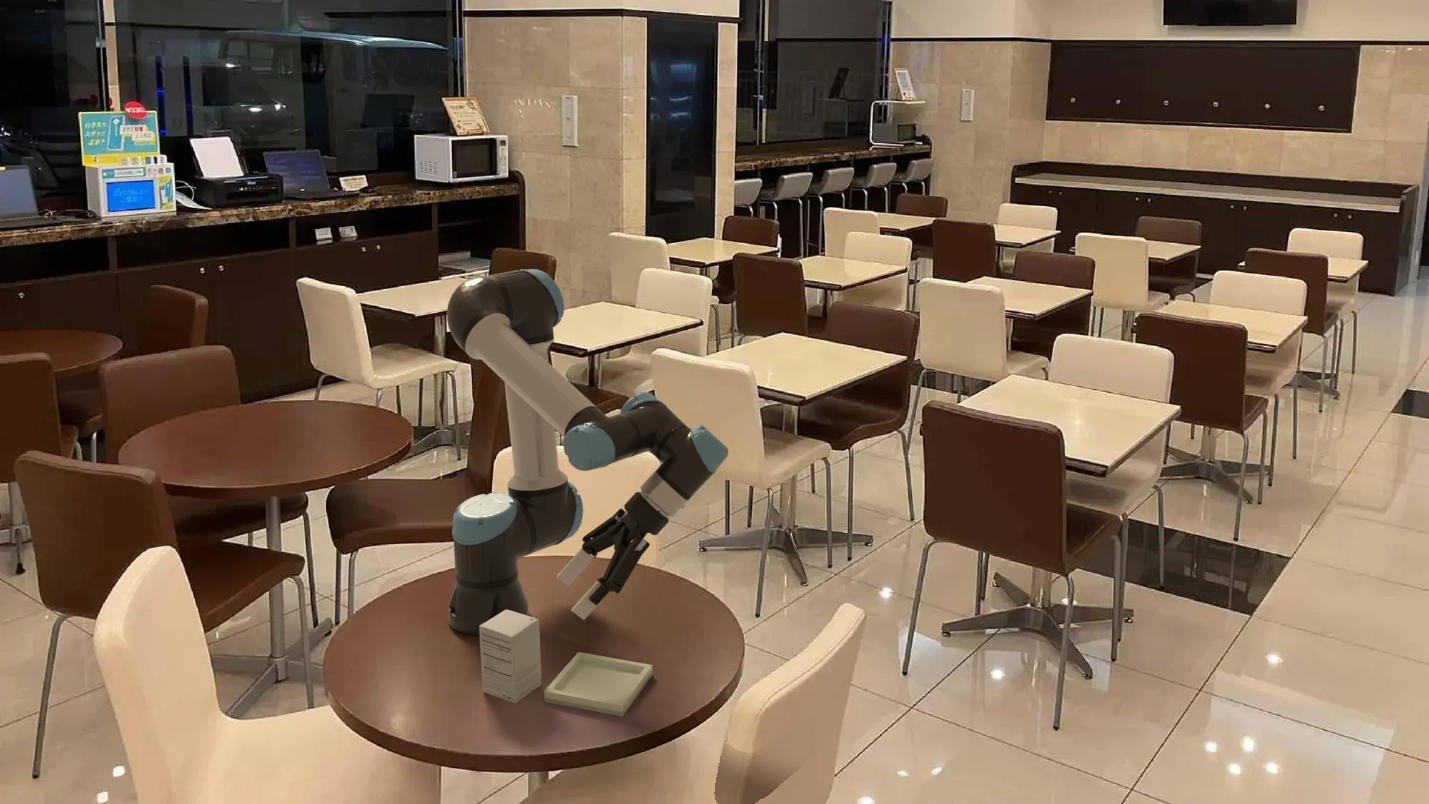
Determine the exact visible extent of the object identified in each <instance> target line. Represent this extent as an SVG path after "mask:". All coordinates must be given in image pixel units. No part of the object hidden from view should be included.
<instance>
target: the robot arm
mask: <svg viewBox="0 0 1429 804" xmlns="http://www.w3.org/2000/svg"><path fill="white" fill-rule="evenodd" d="M564 303H565V302H564V297H563V294H562V292H561V289H560V288H559V286H558V284H557V282H556V281H555V280H553V279H552V276H550V275H549V274H548V273H547V272H546V271H545V272H544V271H542V270H540V269H537V268H536V269H535V268H531V269H522V268H521V269H516V270H511V271H504V272H500V273H495V274H489V275H485V276H475V277H472V278H469V279H467V280H465V281H464V282H462V283H461V284H460V285H459V286H457V287H456V288H455V290H454V292H452V294H451V296H450V299H449V301H448V304H447V308H446V322H447V325H448V329H449V331H450V334H451V336H452V337H453V339H454V341H455V342H456V344H457V345H458V347H459V348H461V349H462V350H463V351H464V352H465V353H466V355H468V356H469V357H470V358H472V359H474V360H481V361H482V362H484V363H485V364H486V365H487V366H488V368H490V370H492V371H493V372H494V373H495V374H496V375H497V376H498V377H499V378H501V380H502V381H503V382H504V388H505V399H506V408H507V418H508V425H509V435H510V444H511V454H512V463H513V472H514V474H513V476H511V477H510V479H509V480H508V481H507V490H508V494H505V493H502V492H501V493H500V492H490V493H488V494H485V493H482V494H478V495H475V496H472V497H469V498H468V499H465V500H464V501H462V502H461V503H460V504H459V505H458V506H457V508H456V509H455V511H454V514H453V516H452V519H453V521H452V529H451V531H452V532H451V534H452V537H453V553H454V555H453V556H454V569H455V570H454V572H455V584H454V586H453V590H452V594H451V597H450V601H449V604H448V607H447V620H448V624H449V626H450V627H451V628H452V629H454V630H456V631H457V632H459V633H462V634H466V635H470V636H480V631H479V626H480V625H482V624H483V623H485V622H487V621H488V620H490V619H491V618H493V617H495V616H496V615H498V614H500V613H501V612H503V611H504V610H510V611H513V612H517V613H520V614H524V615H527V616H530V614H529V613H530V612H529V602H528V599H527V597H526V595H525V592H524V588H523V586H522V583H521V582H520V578H519V565H518V564H519V559H521V558H524V557H526V556H528V555H531V554H534V553H537V552H539V551H541V550H544V549H547V548H549V547H552V546H556V545H560V544H562V543H563V542H564V541H566V540H567V539H568V540H569V539H570V538H572V537H573V536H574V535H575V534H576V533H577V532H578V531H579V529H580V527H581V525H582V522H583V518H584V503H583V500H582V497H581V495H580V494H578V489H577V487H576V486H575V485H574V484H573V483H571V482H570V481H568V479H569V478H568V475H567V474H565V472H563V471H562V470H560V467H559V456H558V447H557V437H556V432H558V434H559V435H560V436H562V437H563V451H564V455H566V456H567V459H568V463H569V464H570V465H571V466H572V467H574V468H575V469H577V470H579V471H583V472H587V471H593V470H597V469H603V468H605V467H608V466H609V465H612V464H615V463H617V462H620V461H623V460H626V459H629V458H632V457H635V456H638V455H641V454H644V453H647V452H650V454H652V455H653V456H654V457H655V458H656V459H657V460H658V461H659V462H661V464H660V465H659V466H658V468H657V469H656V470H655V471H654V472H652V474H650V476H649V477H648V478H647V479H646V480H645V481H644V482H643V483H642V485H641V486H640V490H641V491H636V492H634V494H633V495H632V496H631V497H630V498H629V499H628V500H627V502H626V503H624V505H623V508H619V509H618V510H617V511H616V512H615V513H614V514H613V515H612V516H610V517H609V518H607V520H605V521H603V522H602V523H601V524H600V525H598V526H596V527H595V528H594V529H592V530H591V531H590V532H587V534H585V535H584V536H583V537H582V540H581V541H582V542H583V543H582V544H581V545H582V546H581V548H580V549H579V551H578V552H576V553H575V555H574V556H573V557H572V558H570V560H569V561H568V562H567V564H566V565H565V566H564V567H563V568H562V569H561V570H560V571H559V572H558V573H557V575H556V577H557V579H558V580H559V581H561V582H562V583H563V584H565V585H566V586H567V587H569V586H570V585H571V584H572V583H573V582H574V581H575V580H576V579H577V577H579V575H580V574H581V573H582V572H583V571H584V570H585V569H586V568H587V566H588V565H589V564H590V563H591V562H592V561H593V560H594V558H597V557H598V553H601V552H602V551H605V550H607V549H608V548H610V547H613V549H614V553H613V554H612V556H611V558H610V561H609V563H608V565H607V567H606V569H605V572H604V574H603V576H602V577H599V578H597V580H596V581H595V582H594V583H593V584H592V586H591V587H590V588H589V589H588V590H587V591H586V593H584V594H583V596H582V597H580V599H579V600H578V601H577V602H576V603H575V605H573V606H572V608H571V612H573V613H574V614H575V615H576V616H577V617H579V618H581V620H583V621H585V620H586V619H587V618H588V617H589V615H590V614H591V613H592V612H593V611H594V610H595V608H597V607H598V605H600V604H601V602H602V601H604V599H605V598H606V597H607V596H608V595H609V593H610V592H614V593H616V594H620V593H621V591H622V589H623V588H624V586H625V585H626V583H627V581H628V579H629V578H630V576H631V574H632V572H633V571H634V569H635V567H636V565H637V564H638V562H639V561H640V559H641V557H642V556H643V555H644V554H645V552H646V551H647V549H648V548H649V547H650V545H651V544H650V543H649V542H648V541H647V540H646V539H645V538H646V536H647V534H651V535H653V536H657V535H658V534H659V533H660V532H661V531H662V530H663V529H664V528H665V527H666V526H667V525H668V524H669V523H670V522H669V520H670V519H669V517H671V518H674V517H675V515H676V514H678V512H679V511H680V510H681V509H684V508H685V507H686V503H687V502H688V501H689V500H690V499H691V498H692V497H693V496H694V495H695V494H696V492H697V491H698V490H700V488H702V486H704V484H706V482H707V481H708V480H709V479H710V478H711V477H712V476H713V475H714V474H716V472H717V470H718V469H719V468H720V467H721V465H722V464H723V463H724V462H725V460H726V459H727V457H728V455H729V448H728V447H727V446H726V445H725V444H724V443H723V442H722V441H721V440H720V439H719V438H718V437H716V436H715V435H714V434H713V433H712V431H710V430H709V429H708V428H706V426H704V425H703V424H697V425H696V426H695V427H693V428H690V427H688V426H687V425H686V423H684V421H682V420H681V419H680V418H679V417H678V416H677V415H676V414H675V413H673V411H671V409H670V408H668V405H666V404H665V403H664V402H663V401H661V400H659V399H658V398H657V397H656V396H655V395H653V394H652V393H651V392H646V391H643V392H639V393H636V394H635V395H634V396H633V397H630V398H629V399H627V401H626V402H625V403H624V404H623V406H622V408H621V410H620V412H619V413H618V414H615V415H610V416H607V415H606V414H605V413H604V412H603V411H602V410H601V409H600V408H598V407H597V406H596V405H595V404H594V403H592V401H590V399H588V397H586V396H585V394H583V393H582V392H581V391H579V389H578V388H576V386H574V385H573V384H572V383H571V382H570V381H569V380H568V379H567V378H566V377H565V376H564V375H563V374H561V373H560V372H559V371H558V370H557V369H556V368H555V367H553V365H551V364H550V362H549V356H548V348H549V347H550V345H552V343H553V342H554V341H555V334H554V328H555V327H557V326H558V325H559V323H560V322H561V321H562V318H563V316H564V314H565V304H564Z"/></svg>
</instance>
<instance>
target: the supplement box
mask: <svg viewBox="0 0 1429 804" xmlns="http://www.w3.org/2000/svg"><path fill="white" fill-rule="evenodd" d="M540 630H541V629H540V620H539V619H538V618H537V617H534V616H530V615H529V616H527V615H524V614H520V613H517V612H513V611H510V610H504V611H503V612H501V613H500V614H498V615H496V616H495V617H493V618H491V619H490V620H488V621H487V622H485V623H483V624H482V625H480V626H479V631H480V635H479V645H480V646H479V648H480V649H479V650H480V652H479V653H480V665H481V666H480V668H481V669H480V671H481V685H482V686H481V688H482V692H483V693H485V694H487V695H490V696H492V697H496V698H499V699H502V700H503V701H504V700H505V701H507V702H510V703H513V704H517V703H518V702H520V701H521V700H522V699H524V698H525V697H526V696H528V695H529V694H531V693H532V692H533V691H535V690H536V689H537V688H538V687H540V686H541V685H542V663H541V659H542V658H541V636H540V635H541V634H540V632H541V631H540Z"/></svg>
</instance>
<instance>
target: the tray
mask: <svg viewBox="0 0 1429 804" xmlns="http://www.w3.org/2000/svg"><path fill="white" fill-rule="evenodd" d="M652 676H653V664H647V663H642V662H637V661H633V660H632V661H631V660H626V659H619V658H615V657H609V656H605V655H604V656H603V655H598V654H592V653H587V652H581V651H578V652H577V653H575V655H574V657H572V659H571V660H570V661H569V662H568V663H567V664H566V665H565V666H564V668H563V669H562V670H561V671H560V673H558V675H557V676H556V677H555V678H554V679H553V680H552V681H551V683H550V684H549V685H548V686H547V687H546V688H545V689H544V691H543V700H544V703H550V704H555V705H560V706H565V707H569V708H576V709H581V710H587V711H592V712H596V713H602V714H606V715H613V716H617V717H624V715H625V714H626V712H627V711H628V710H629V708H630V707H631V706H632V704H633V703H634V701H636V699H637V697H638V696H639V695H640V693H641V692H642V690H643V689H644V688H645V686H646V685H647V684H648V683H649V681H650V679H652Z"/></svg>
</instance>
